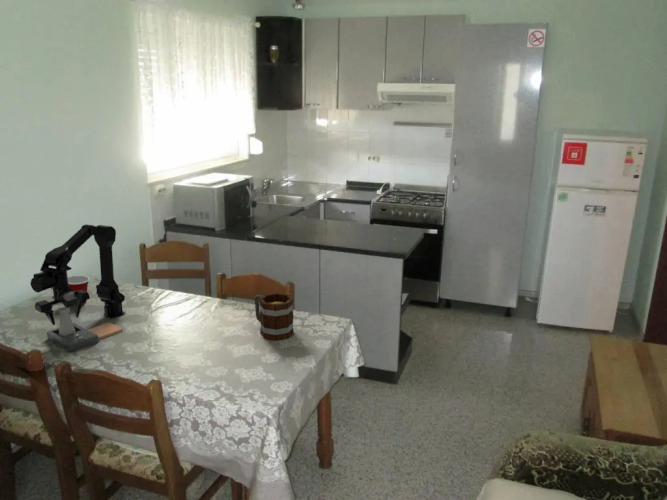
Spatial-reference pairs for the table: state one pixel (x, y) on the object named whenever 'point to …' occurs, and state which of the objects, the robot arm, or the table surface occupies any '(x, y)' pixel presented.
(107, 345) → the table surface
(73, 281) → the plastic cup
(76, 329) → the grey rectangular device
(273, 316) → the mug
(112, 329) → the terracotta coaster
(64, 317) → the salt shaker
